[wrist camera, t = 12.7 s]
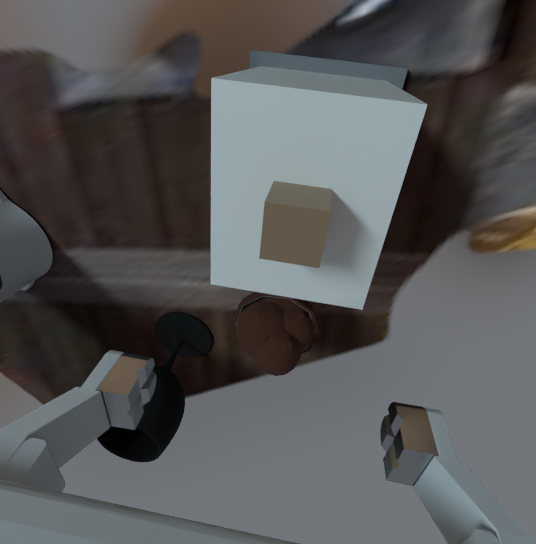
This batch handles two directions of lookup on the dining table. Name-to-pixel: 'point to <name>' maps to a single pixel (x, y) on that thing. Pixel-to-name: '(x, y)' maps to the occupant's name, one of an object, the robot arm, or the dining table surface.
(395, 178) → the cover
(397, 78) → the mat
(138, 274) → the dining table surface
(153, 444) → the wine glass
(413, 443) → the robot arm
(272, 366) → the ice cream bowl
